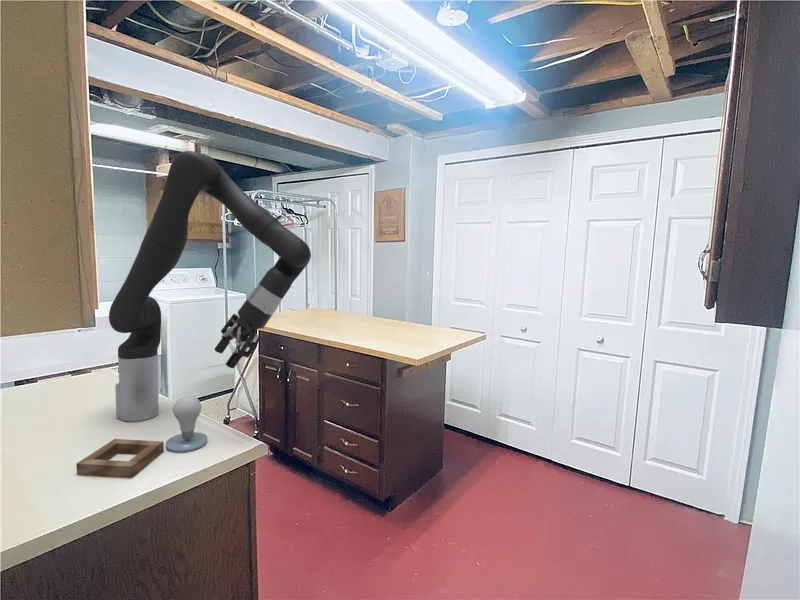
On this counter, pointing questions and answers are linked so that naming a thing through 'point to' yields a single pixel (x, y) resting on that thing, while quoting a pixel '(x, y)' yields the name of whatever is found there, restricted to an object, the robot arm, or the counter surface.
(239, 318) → the robot arm
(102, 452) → the frame
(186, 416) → the lightbulb
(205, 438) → the pad
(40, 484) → the counter surface
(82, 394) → the counter surface
